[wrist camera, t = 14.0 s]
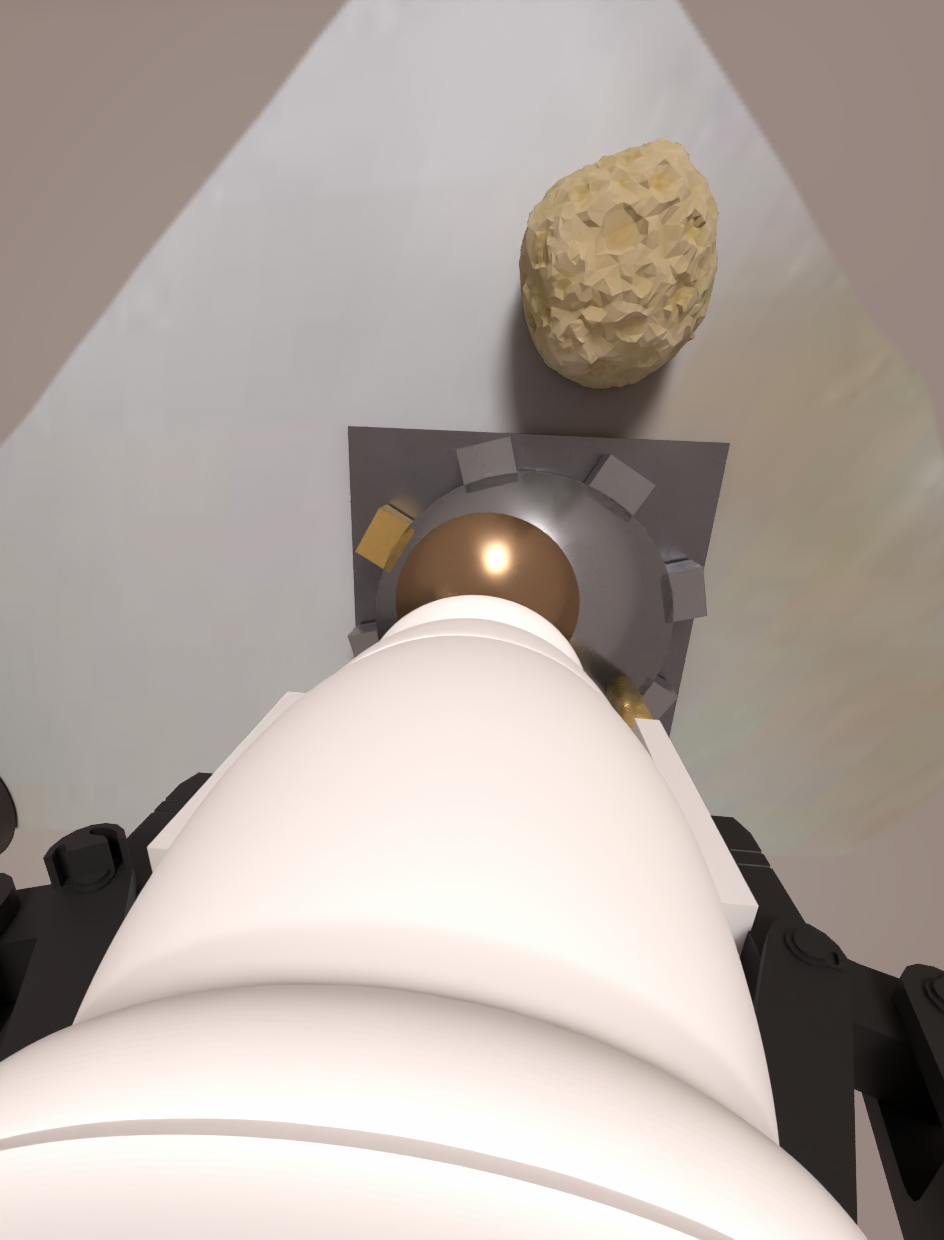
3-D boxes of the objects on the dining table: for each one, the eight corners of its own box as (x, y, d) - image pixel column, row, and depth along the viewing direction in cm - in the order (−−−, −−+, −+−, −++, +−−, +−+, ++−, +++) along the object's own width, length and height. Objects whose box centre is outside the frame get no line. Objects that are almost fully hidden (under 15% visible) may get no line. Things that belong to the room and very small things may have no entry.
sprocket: (302, 657, 34) (244, 717, 27) (467, 359, 27) (450, 326, 20) (560, 805, 37) (572, 898, 29) (769, 568, 30) (857, 609, 22)
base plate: (351, 426, 30) (346, 426, 29) (724, 443, 29) (731, 443, 28) (363, 738, 37) (359, 746, 36) (659, 762, 36) (663, 770, 35)
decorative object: (649, 220, 28) (605, 28, 20) (768, 328, 25) (777, 152, 16) (525, 347, 32) (441, 229, 23) (615, 456, 28) (556, 367, 20)
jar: (567, 839, 20) (691, 1716, 6) (324, 781, 20) (-95, 1535, 6) (656, 601, 17) (1408, 1418, 3) (360, 530, 17) (-437, 989, 3)
